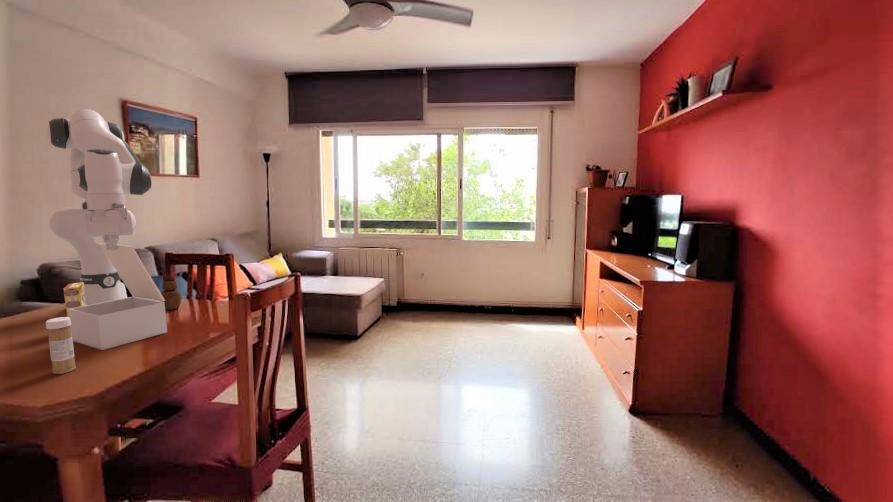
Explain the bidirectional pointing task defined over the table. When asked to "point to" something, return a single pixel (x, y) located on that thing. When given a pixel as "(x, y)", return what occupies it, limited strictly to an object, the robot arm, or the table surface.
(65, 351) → the sprinkles bottle
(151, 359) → the table surface
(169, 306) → the wooden figurine
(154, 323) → the carton
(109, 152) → the robot arm
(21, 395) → the table surface
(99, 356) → the table surface
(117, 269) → the carton flap
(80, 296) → the candy box
